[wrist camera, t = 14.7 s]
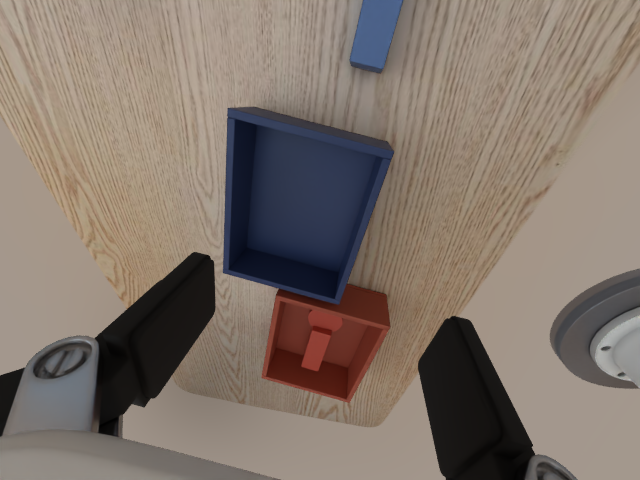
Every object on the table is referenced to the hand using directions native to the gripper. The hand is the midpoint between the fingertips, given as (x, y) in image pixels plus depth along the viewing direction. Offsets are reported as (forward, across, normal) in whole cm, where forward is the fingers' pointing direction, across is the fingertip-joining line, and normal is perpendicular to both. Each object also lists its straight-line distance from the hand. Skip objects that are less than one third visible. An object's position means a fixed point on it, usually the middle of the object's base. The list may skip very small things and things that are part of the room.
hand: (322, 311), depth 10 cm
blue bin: (+16, +4, +2) cm, 17 cm away
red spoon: (+16, -1, +19) cm, 25 cm away
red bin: (+16, -2, +19) cm, 25 cm away
